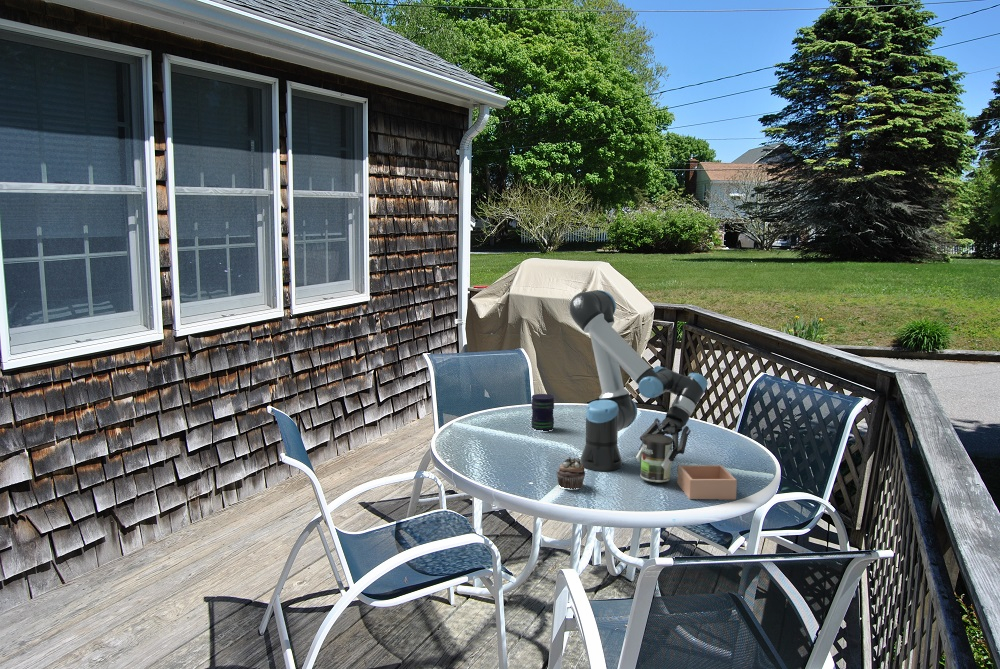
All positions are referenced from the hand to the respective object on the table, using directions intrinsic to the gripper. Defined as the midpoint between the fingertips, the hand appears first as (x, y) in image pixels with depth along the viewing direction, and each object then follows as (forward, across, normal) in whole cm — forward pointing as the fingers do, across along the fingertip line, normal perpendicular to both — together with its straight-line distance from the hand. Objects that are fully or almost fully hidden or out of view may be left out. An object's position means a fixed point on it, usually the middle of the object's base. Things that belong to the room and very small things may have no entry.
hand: (650, 463), depth 242 cm
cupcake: (+22, +15, +11) cm, 29 cm away
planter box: (-1, -17, -10) cm, 20 cm away
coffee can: (+2, 0, -6) cm, 6 cm away
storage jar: (-8, +73, -20) cm, 76 cm away
